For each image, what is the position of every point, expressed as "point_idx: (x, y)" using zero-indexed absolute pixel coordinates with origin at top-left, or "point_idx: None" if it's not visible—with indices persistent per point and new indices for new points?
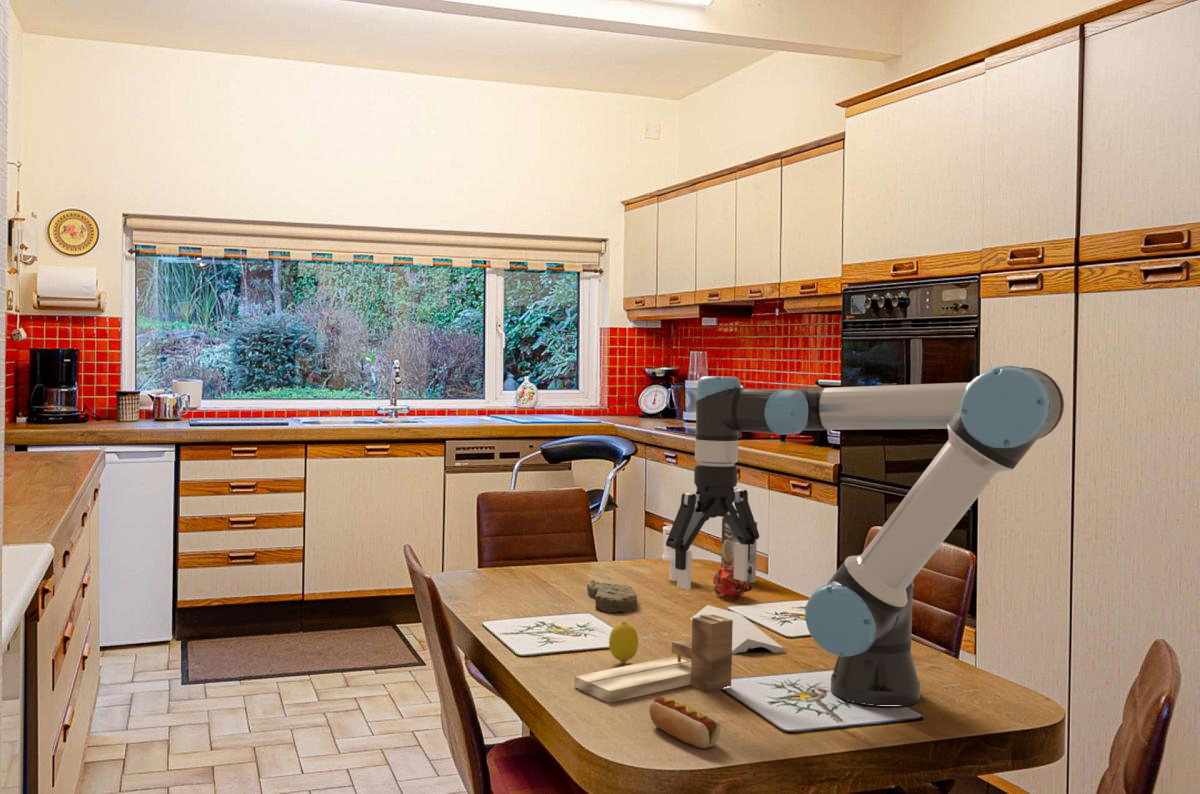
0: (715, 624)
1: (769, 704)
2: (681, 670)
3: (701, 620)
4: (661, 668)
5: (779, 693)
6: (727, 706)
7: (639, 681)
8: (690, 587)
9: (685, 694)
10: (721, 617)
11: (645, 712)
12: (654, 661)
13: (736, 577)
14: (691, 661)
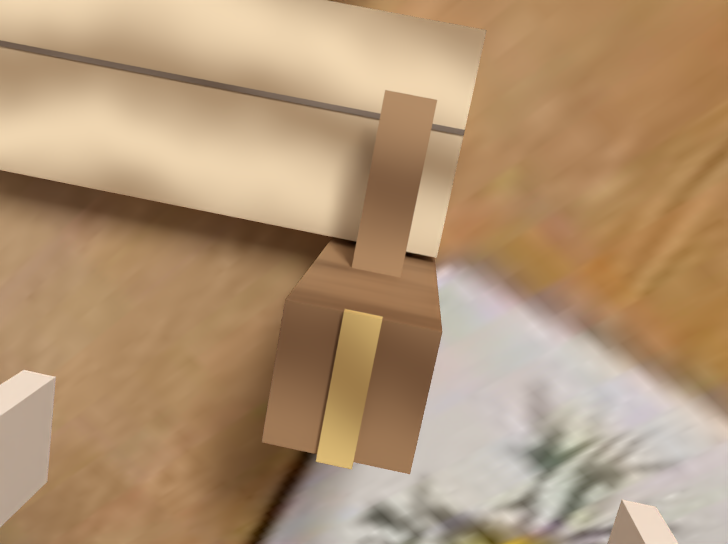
0: (287, 445)
1: (356, 519)
2: (338, 188)
3: (280, 363)
4: (301, 113)
5: (475, 491)
6: (246, 441)
7: (114, 162)
8: (36, 488)
9: (241, 281)
10: (417, 401)
11: (14, 298)
12: (359, 24)
13: (618, 536)
14: (321, 252)
